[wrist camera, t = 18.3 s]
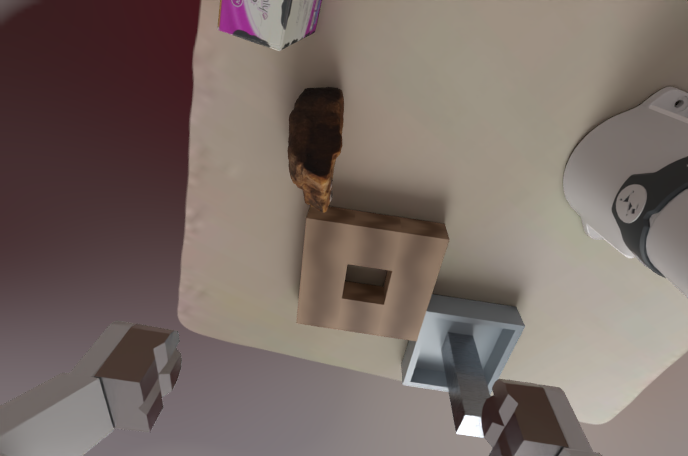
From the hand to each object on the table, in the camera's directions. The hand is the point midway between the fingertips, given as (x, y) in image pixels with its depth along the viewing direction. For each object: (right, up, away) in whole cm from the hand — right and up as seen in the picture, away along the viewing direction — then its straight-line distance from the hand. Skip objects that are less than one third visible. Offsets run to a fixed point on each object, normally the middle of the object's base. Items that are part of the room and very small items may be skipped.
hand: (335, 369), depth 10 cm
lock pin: (+18, -14, +51) cm, 56 cm away
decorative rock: (-2, +15, +37) cm, 40 cm away
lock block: (+4, -2, +46) cm, 47 cm away
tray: (+18, -14, +52) cm, 57 cm away
